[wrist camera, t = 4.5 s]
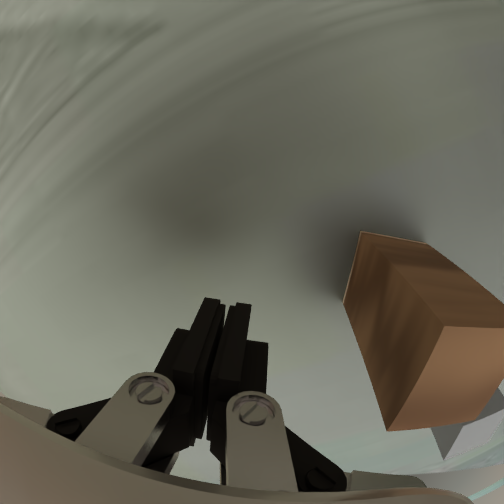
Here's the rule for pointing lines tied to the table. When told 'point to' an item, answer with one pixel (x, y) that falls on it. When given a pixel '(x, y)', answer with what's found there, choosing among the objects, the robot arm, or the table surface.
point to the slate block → (470, 429)
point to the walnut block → (423, 333)
